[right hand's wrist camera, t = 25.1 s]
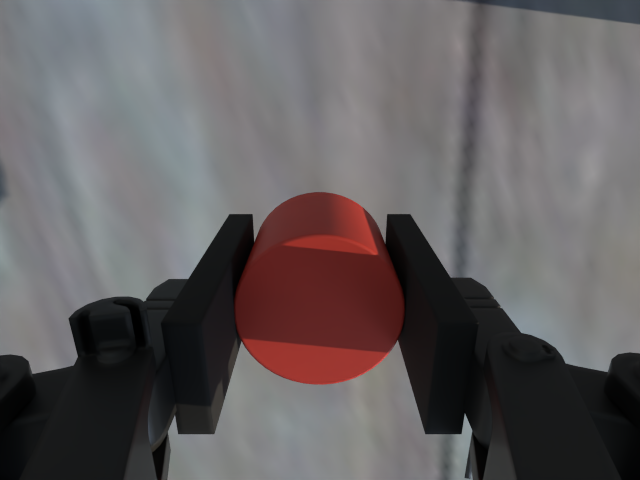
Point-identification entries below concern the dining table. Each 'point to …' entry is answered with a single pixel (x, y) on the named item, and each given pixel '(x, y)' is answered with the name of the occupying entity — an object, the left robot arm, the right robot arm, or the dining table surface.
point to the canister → (319, 292)
